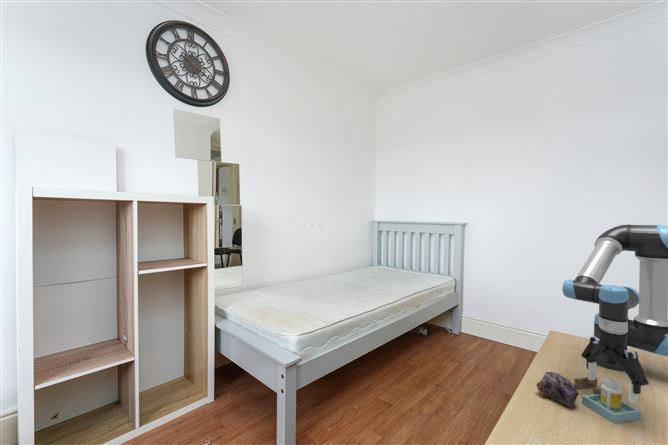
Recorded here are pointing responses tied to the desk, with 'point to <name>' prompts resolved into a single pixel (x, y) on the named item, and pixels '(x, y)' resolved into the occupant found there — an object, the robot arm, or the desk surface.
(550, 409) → the desk surface
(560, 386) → the rock
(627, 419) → the tray
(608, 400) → the supplement bottle
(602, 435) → the desk surface
